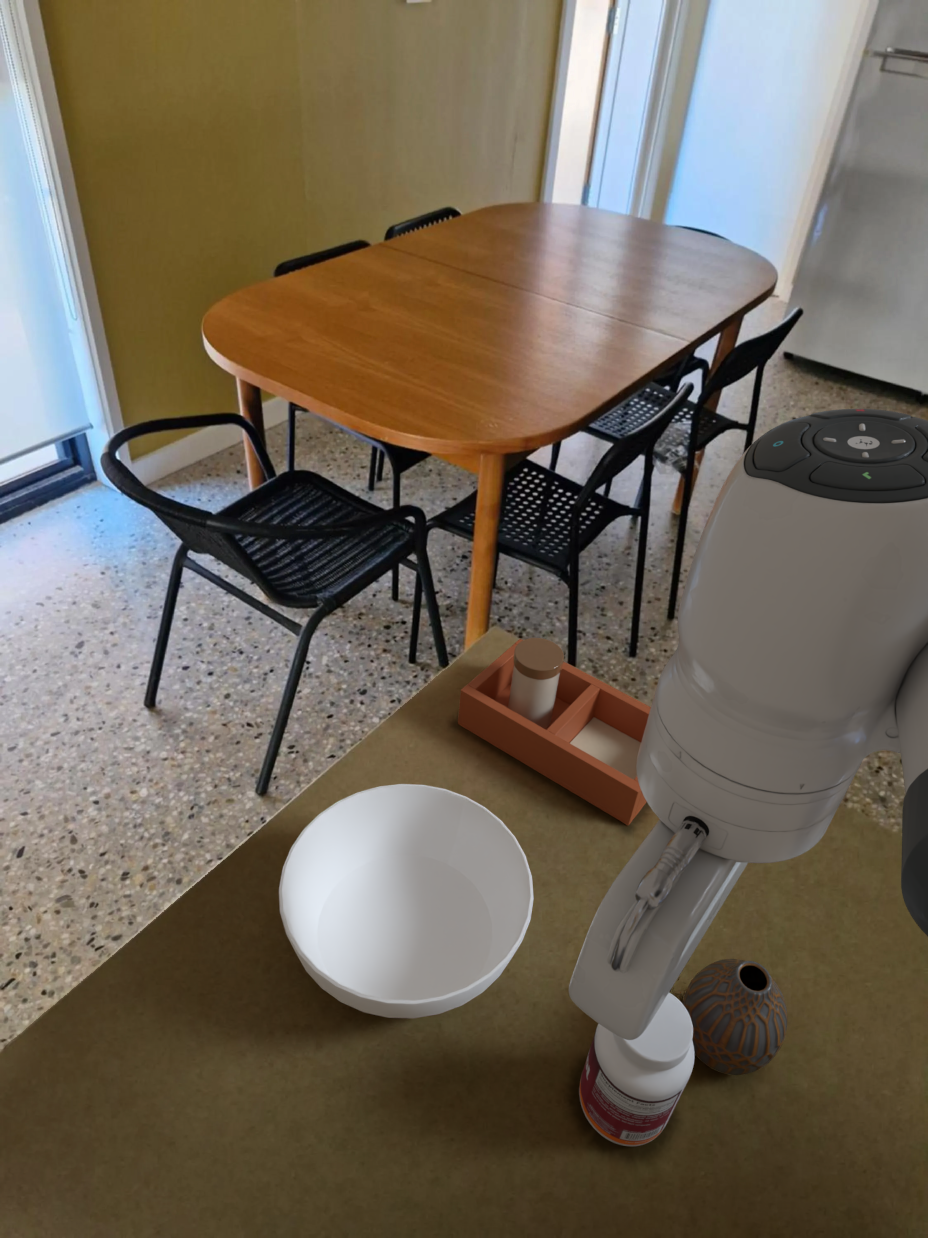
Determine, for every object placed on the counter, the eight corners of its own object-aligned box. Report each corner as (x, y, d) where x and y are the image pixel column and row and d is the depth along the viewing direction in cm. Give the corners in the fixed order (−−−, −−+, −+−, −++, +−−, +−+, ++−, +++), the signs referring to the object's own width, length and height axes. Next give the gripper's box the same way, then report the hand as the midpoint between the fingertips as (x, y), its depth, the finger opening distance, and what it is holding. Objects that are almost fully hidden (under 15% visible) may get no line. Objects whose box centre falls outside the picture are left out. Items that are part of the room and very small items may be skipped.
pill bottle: (609, 1036, 64) (638, 953, 57) (685, 1096, 61) (725, 1017, 54) (558, 1104, 60) (583, 1024, 53) (637, 1172, 57) (674, 1098, 50)
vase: (780, 1026, 65) (818, 962, 59) (753, 1110, 60) (792, 1050, 55) (690, 978, 67) (719, 912, 62) (658, 1055, 63) (686, 992, 57)
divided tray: (515, 671, 93) (520, 638, 90) (678, 761, 85) (689, 727, 82) (457, 724, 86) (460, 689, 84) (628, 826, 78) (638, 792, 75)
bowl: (233, 978, 65) (223, 923, 60) (368, 807, 78) (368, 751, 73) (453, 1107, 59) (460, 1057, 54) (559, 899, 72) (572, 844, 67)
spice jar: (549, 700, 89) (561, 638, 84) (554, 733, 85) (566, 671, 80) (504, 699, 89) (512, 636, 84) (507, 732, 85) (516, 669, 80)
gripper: (706, 970, 32) (634, 1129, 40) (879, 675, 45) (796, 844, 54) (557, 873, 34) (520, 1042, 43) (761, 623, 48) (701, 791, 56)
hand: (674, 930), depth 48 cm, fingers open, 8 cm apart
